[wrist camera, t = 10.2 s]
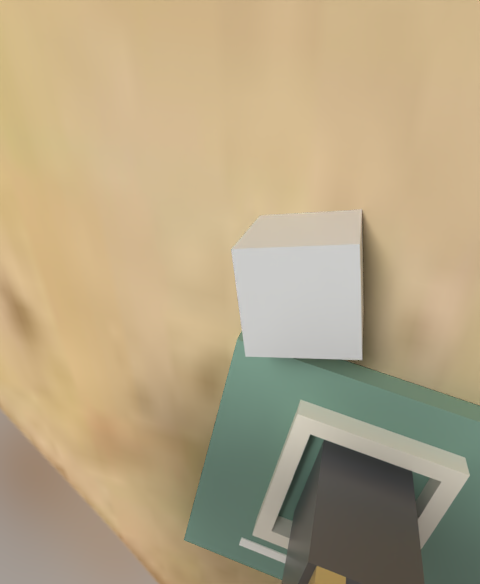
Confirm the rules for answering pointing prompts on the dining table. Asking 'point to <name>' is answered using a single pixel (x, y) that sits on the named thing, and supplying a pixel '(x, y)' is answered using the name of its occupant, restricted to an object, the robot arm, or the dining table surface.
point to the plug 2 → (354, 523)
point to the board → (343, 431)
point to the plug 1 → (302, 285)
